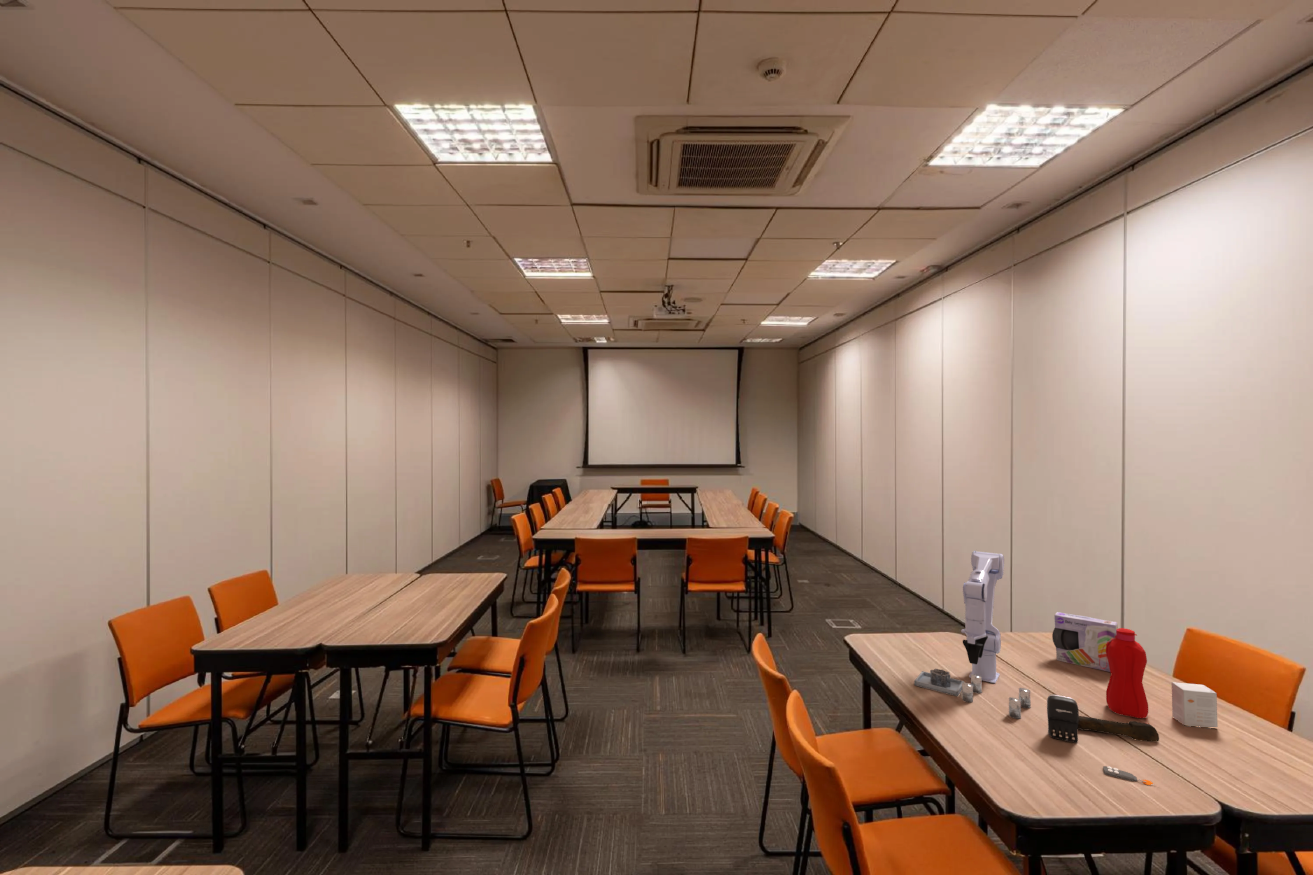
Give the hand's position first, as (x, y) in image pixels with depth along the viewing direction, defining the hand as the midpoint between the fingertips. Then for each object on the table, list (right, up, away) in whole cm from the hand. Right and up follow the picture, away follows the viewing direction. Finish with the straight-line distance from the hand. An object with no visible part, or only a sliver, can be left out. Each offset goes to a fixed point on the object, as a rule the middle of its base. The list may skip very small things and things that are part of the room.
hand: (975, 660), depth 179 cm
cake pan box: (+53, -11, +20) cm, 58 cm away
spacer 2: (+1, -10, 0) cm, 10 cm away
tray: (-9, -11, +5) cm, 15 cm away
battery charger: (+7, -10, -29) cm, 31 cm away
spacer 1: (-6, -10, -6) cm, 13 cm away
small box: (+52, -10, -21) cm, 57 cm away
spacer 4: (+10, -10, -10) cm, 17 cm away
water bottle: (+37, -10, -14) cm, 41 cm away
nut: (-9, -10, +5) cm, 14 cm away
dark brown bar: (+24, -10, -26) cm, 37 cm away
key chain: (+12, -11, -47) cm, 50 cm away
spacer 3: (+2, -10, -16) cm, 19 cm away
